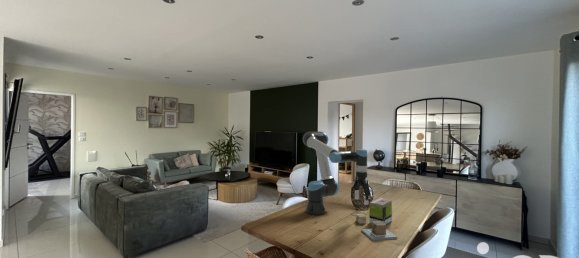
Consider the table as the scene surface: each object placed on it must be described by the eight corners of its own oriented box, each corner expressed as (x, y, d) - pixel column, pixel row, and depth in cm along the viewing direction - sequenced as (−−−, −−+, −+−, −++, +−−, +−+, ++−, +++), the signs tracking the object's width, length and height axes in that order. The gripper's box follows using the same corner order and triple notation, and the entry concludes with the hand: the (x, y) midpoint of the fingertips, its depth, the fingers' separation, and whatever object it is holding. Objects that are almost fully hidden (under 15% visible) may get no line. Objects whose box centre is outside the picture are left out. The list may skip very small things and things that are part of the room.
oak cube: (355, 221, 177) (356, 214, 177) (362, 220, 178) (362, 213, 178) (359, 223, 173) (359, 216, 172) (365, 223, 173) (366, 216, 173)
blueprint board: (361, 230, 160) (361, 228, 160) (383, 229, 163) (383, 227, 163) (372, 240, 147) (372, 238, 147) (397, 238, 150) (397, 236, 150)
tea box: (378, 217, 185) (379, 197, 185) (392, 221, 178) (392, 200, 178) (368, 222, 175) (369, 201, 174) (382, 227, 167) (383, 204, 167)
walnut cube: (371, 231, 157) (371, 221, 157) (380, 230, 158) (380, 221, 158) (376, 235, 151) (377, 225, 151) (385, 234, 152) (386, 224, 152)
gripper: (348, 168, 187) (348, 197, 187) (365, 174, 162) (365, 207, 162) (358, 168, 188) (358, 196, 188) (376, 174, 164) (375, 206, 164)
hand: (361, 201), depth 175 cm, fingers open, 13 cm apart
